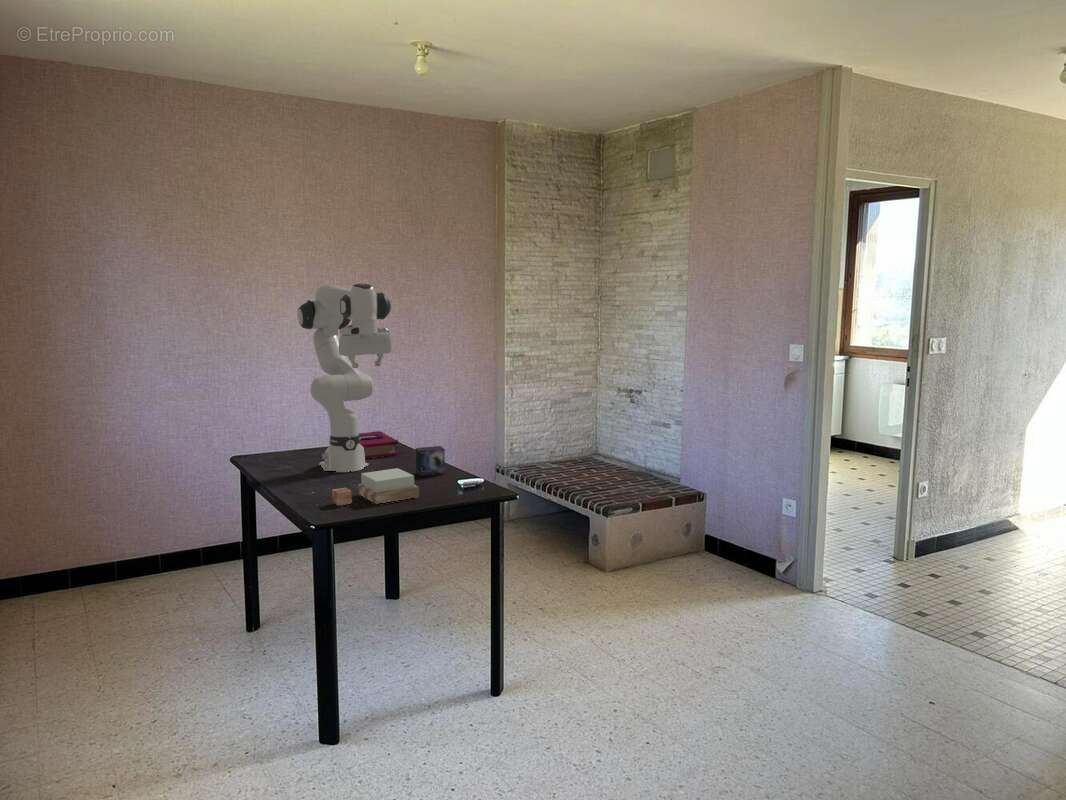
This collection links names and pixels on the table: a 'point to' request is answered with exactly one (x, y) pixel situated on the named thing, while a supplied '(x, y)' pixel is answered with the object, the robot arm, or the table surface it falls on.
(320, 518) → the table surface
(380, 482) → the sage block
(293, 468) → the table surface
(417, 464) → the small box
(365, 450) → the book
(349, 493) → the terracotta cube
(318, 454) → the table surface
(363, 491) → the birch slab
